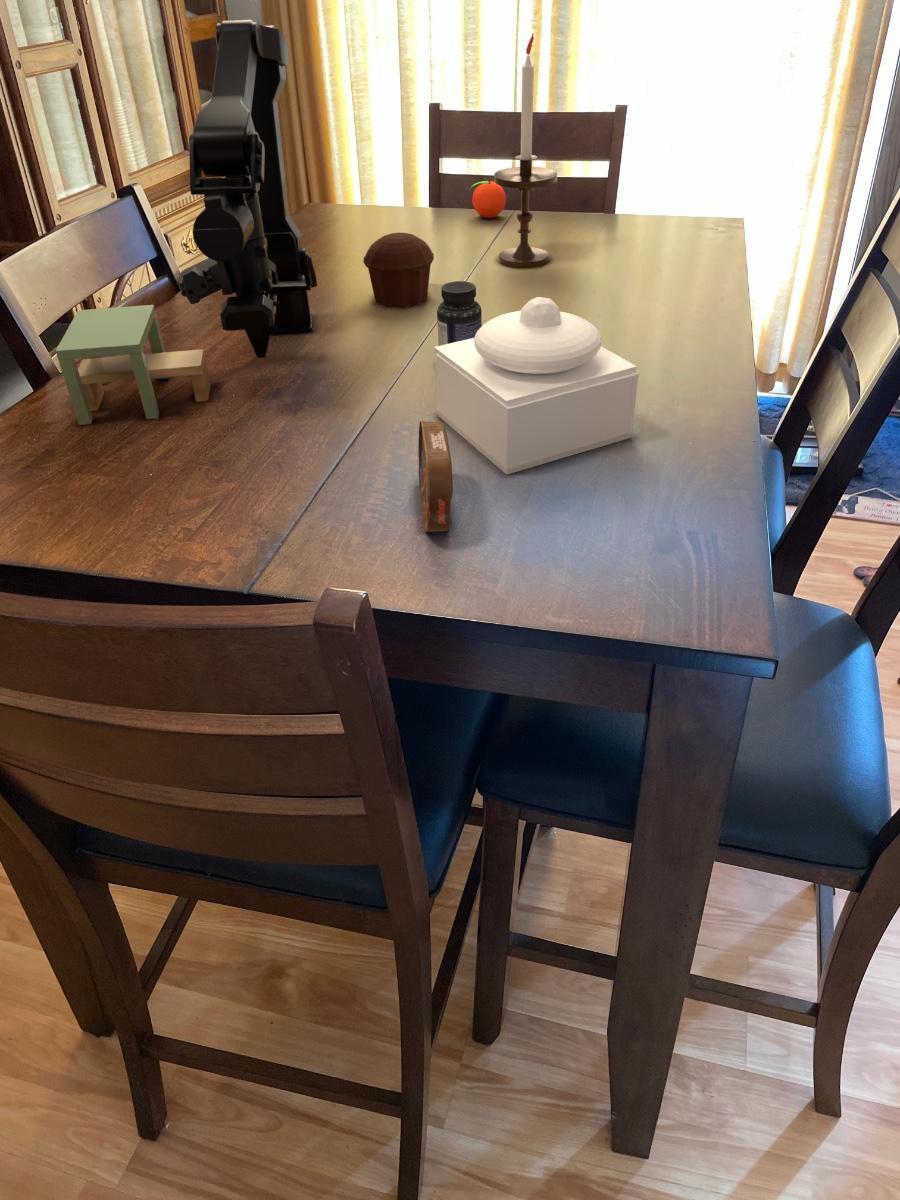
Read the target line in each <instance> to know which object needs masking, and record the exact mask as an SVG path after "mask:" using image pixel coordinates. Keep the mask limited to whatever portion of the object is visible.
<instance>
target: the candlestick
mask: <svg viewBox="0 0 900 1200" xmlns="http://www.w3.org/2000/svg"><path fill="white" fill-rule="evenodd" d="M534 40H535V37H534V32H532V33H531V37H530V39H529V40H528V43H527V46H526V49H525V51H526V56H525V57H526V59H525V62H524V65H522V66H521V67H522V68H521V113H520V114H521V115H520V124H521V125H520V154H519V155H515V156H514V159H515V160H518V161H519V166H514V167H507V168H502V169H500V170H497V171H495V172H494V175H493V181H494V182H495V183H496V184H498V185H500V186H501V187H504V188H510V189H511V188H512V189H517V190H518V191H520V193H521V194H520V197H521V198H520V205H521V206H520V212H519V213H517V214H516V218H517V219H516V220H517V221H518V222H519V228H517V233H518V234H520V242H519V244H518V245H517V247H510V248H506V249H504V250H502V251H500V252H499V253H498V261H499V263H500V264H502V265H504V266H507V267H511V268H519V269H520V268H521V269H522V268H535V267H540V266H543V265H545V264H547V263H548V262H549V260H550V259H549V258H550V257H549V256H550V254H549V252H548V251H547V250H545V249H543V248H540V247H539V248H538V247H532V246H530V244H529V234H530V233H532V229H531V228H530V222H531V221H532V219H533V213H531V212H530V209H529V207H530V191H532V190H533V189H536V188H537V189H538V188H545V187H548V186H553V185H554V184H556V183H557V182H558V172H557V171H556V170H554V169H552V168H547V167H542V166H533V160H537V159H538V158H539V157H538V156H537V155H534V154H533V116H534V111H533V110H534V81H535V80H534V79H535V77H534V75H535V66H534V65H532V60H531V52H532V48H533V42H534Z"/></svg>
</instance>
